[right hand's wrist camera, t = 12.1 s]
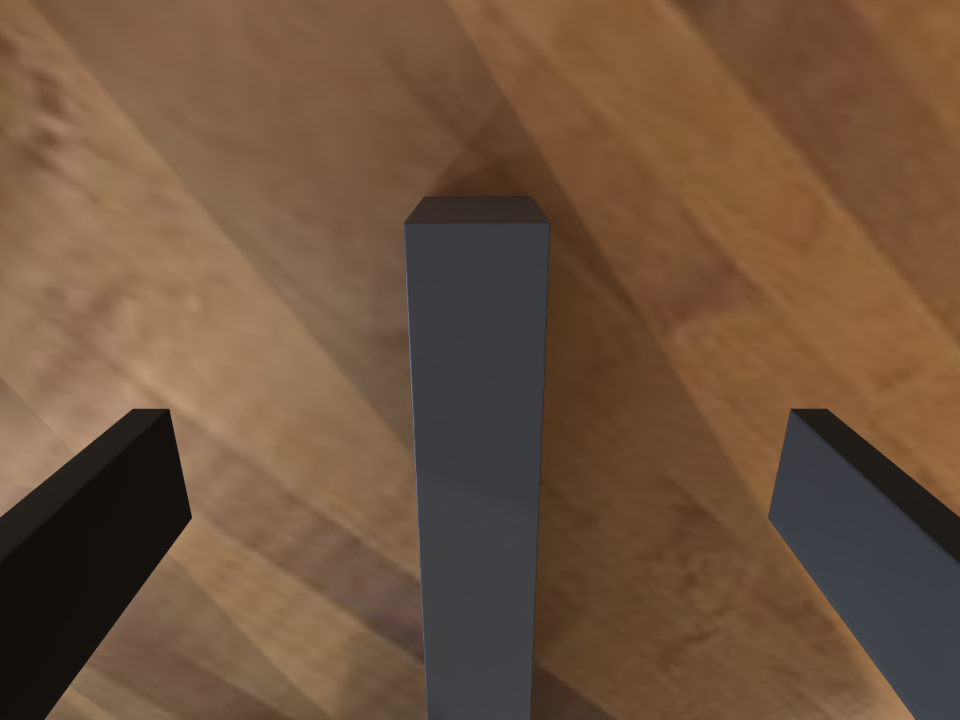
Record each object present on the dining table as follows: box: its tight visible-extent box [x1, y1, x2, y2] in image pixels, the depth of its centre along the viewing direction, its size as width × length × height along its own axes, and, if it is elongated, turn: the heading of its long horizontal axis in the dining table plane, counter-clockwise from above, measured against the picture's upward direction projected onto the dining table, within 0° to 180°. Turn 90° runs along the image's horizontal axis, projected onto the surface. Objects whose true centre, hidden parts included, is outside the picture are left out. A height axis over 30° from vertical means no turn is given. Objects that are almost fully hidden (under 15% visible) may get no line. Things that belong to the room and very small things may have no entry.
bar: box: [403, 197, 551, 720], centre depth 33 cm, size 51×5×8 cm, turn 0°
